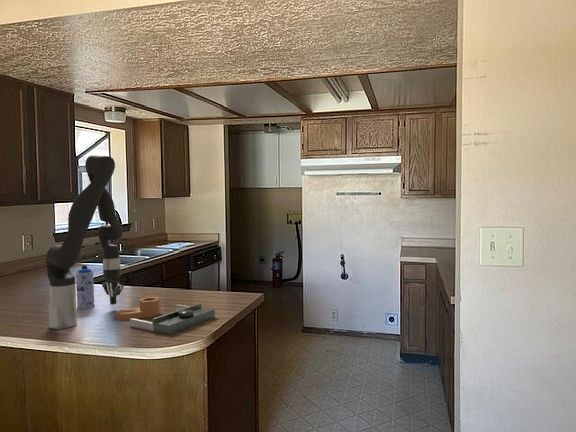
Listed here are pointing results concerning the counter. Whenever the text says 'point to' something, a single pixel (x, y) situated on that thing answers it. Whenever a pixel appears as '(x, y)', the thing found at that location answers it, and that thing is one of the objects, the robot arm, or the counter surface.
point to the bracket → (141, 309)
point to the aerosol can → (85, 288)
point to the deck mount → (176, 319)
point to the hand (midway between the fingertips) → (113, 304)
